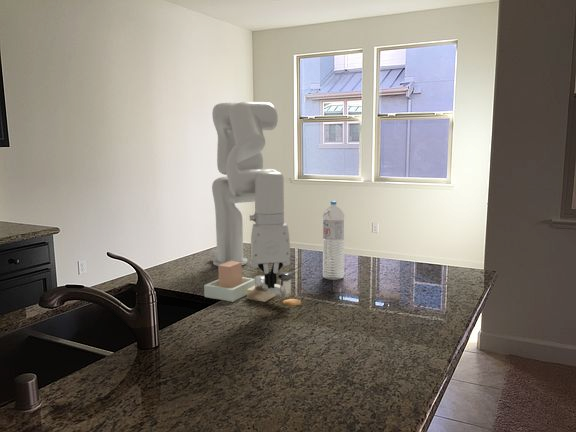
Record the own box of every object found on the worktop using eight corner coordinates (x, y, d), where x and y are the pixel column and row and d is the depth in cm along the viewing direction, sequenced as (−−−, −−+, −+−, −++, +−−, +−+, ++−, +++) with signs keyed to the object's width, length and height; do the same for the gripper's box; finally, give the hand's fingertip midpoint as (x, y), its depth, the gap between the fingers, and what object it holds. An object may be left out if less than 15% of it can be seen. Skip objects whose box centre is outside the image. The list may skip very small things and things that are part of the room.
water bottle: (344, 280, 157) (345, 202, 153) (323, 280, 157) (323, 202, 153) (342, 274, 163) (343, 199, 159) (322, 274, 164) (322, 200, 160)
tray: (204, 296, 142) (204, 285, 141) (229, 285, 152) (228, 274, 152) (232, 302, 137) (232, 290, 137) (256, 290, 147) (255, 279, 147)
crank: (251, 287, 140) (251, 267, 139) (262, 284, 143) (261, 264, 142) (285, 298, 130) (285, 276, 129) (295, 295, 133) (295, 273, 132)
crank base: (246, 299, 140) (246, 289, 139) (258, 293, 145) (258, 284, 144) (294, 307, 132) (294, 297, 132) (305, 301, 137) (305, 291, 137)
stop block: (219, 292, 143) (218, 265, 142) (231, 286, 148) (230, 260, 147) (230, 294, 141) (229, 266, 140) (242, 288, 146) (241, 262, 145)
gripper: (242, 222, 123) (243, 293, 126) (300, 220, 126) (301, 289, 129) (239, 217, 130) (241, 284, 133) (295, 215, 133) (295, 281, 136)
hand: (270, 286), depth 131 cm, fingers closed
